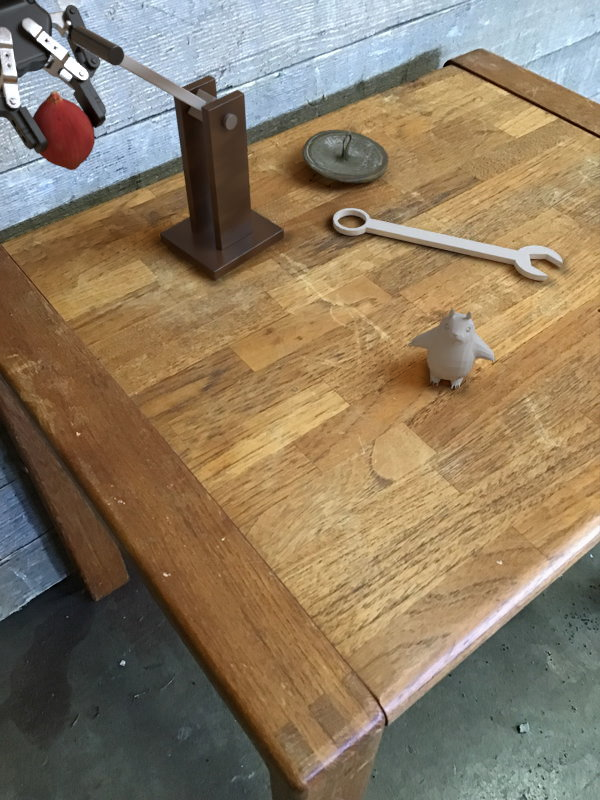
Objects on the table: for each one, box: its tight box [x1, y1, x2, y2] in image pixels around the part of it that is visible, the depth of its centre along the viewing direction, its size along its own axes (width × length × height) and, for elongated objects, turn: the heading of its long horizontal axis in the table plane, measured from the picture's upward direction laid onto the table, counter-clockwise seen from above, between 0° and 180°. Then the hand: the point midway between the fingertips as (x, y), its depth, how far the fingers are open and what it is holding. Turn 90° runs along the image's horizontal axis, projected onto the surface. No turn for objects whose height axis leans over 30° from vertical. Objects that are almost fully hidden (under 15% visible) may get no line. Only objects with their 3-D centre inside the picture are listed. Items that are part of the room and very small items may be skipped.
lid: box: [301, 129, 389, 184], centre depth 88 cm, size 11×10×5 cm
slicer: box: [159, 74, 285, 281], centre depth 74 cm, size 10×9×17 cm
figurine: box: [407, 308, 497, 390], centre depth 65 cm, size 8×6×8 cm
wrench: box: [332, 207, 564, 282], centre depth 79 cm, size 25×1×5 cm
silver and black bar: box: [71, 26, 218, 122], centre depth 63 cm, size 16×5×2 cm
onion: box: [32, 90, 96, 171], centre depth 70 cm, size 6×6×8 cm
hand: (72, 135), depth 69 cm, fingers closed on onion, 5 cm apart
